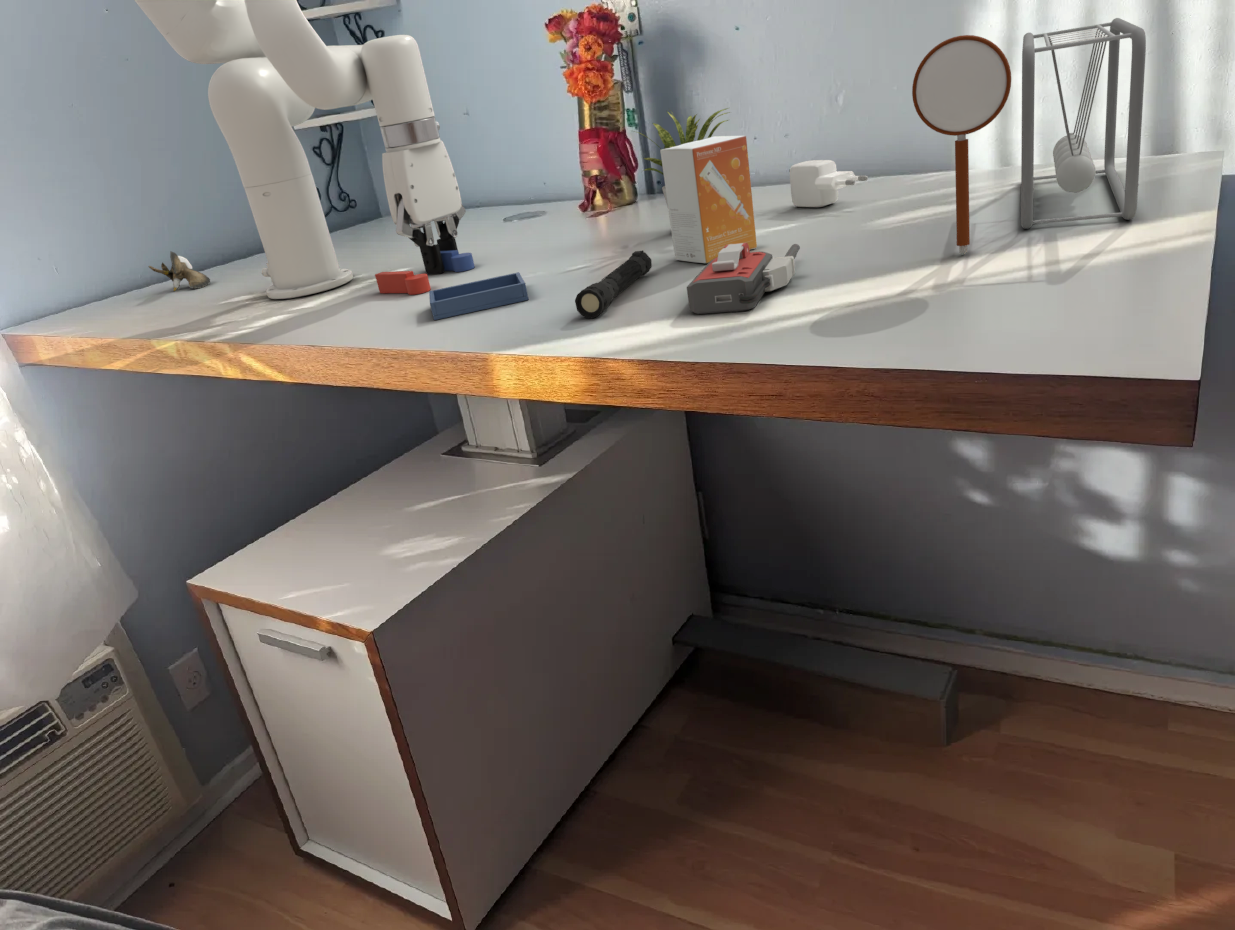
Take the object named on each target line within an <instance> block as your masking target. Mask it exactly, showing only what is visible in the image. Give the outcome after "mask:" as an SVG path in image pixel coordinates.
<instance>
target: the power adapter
mask: <svg viewBox="0 0 1235 930" xmlns="http://www.w3.org/2000/svg"><path fill="white" fill-rule="evenodd" d="M868 179H869V177H868V175H856V174H855V173H854V171H852V170H838V169H837V164H836V162H835V161H834V160H831V159H817V160H816V159H815V160H814V159H811V160H805V161H801V162H798V163H794V164H793V165H791V166H790V168H789V184H790V195H791V200H792V201H791V202H792V204H793V205H794V206H795V207H797V208H822V207H826V206H829V205H832V204H834V203H836V202H837V201H838V199H839V190H840V189H842V188H846V187H850V186H854V185H855V184H856V182H866V181H868Z"/></svg>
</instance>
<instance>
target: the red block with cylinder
mask: <svg viewBox="0 0 1235 930" xmlns="http://www.w3.org/2000/svg"><path fill="white" fill-rule="evenodd" d="M428 275H429V274H427V273H416V274H414V271H413V270H397V271H380V272H377V273H375V274H374V277H375V280H376V285H377V287H378V292H379V294H408V295H409V296H414V295H420V294H424V293H429V291H432V287H431V283H430V280H429V276H428Z"/></svg>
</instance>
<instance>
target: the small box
mask: <svg viewBox="0 0 1235 930" xmlns="http://www.w3.org/2000/svg"><path fill="white" fill-rule="evenodd" d="M661 149H662V150H661ZM661 149H660V151H659V152H660V157H661V158H660V160H662V166H663V167H662V166H661V167H662V172H663V174H664V175H663V179H664V186H665V188H666V195H667V203H668V207H667V209H668V217H669V224H670V230H671V231H670V232H671V239H672V245H673V252H674V260H677V261H680V262H689V263H697V264H708V263H709V262H710V261H711V260H713V259H715V258H717V257H718V254H719V252H720V251H721V250H722V249H723V248H724V247H725V245H730V244H739V243H748V245H749V250H750V251H751V250H755V249H757V248H758V245H757V243H758V242H757V233H756V232H757V231H756V224H755V212H754V201H753V194H752V193H753V191H752V181H751V173H750V172H751V171H750V162H749V161H750V160H749V151H748V141H747V135H720V136H719V135H716V136H715V135H714V136H711V137H710V138H708V137H707V138H704V139H703V140H698V141H697V140H694V141H693V142H689V143H685V144H681V143H680V144H679V145H676V146H675V147H670V148H666V149H664V148H661ZM667 203H666V204H667Z"/></svg>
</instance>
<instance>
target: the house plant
mask: <svg viewBox="0 0 1235 930" xmlns="http://www.w3.org/2000/svg"><path fill="white" fill-rule="evenodd" d="M728 109H729V107H727V108H723V109H720V110H717V111H715V112H714V113H712V114H711V115H710V116H709V117H708V118H707V119H706V120H705V122H704V123H703V125H702V127H701V128H700V130H699V133H698V136H697V139H696V141H698V140H703V139H705V137H706V135H707V132H708V130H709V127H710V126H711V124H712V123H713V121H714V120H716V119H717V118H719V117H721V116H723V115H727V114H730V113H731V111H729V112H724V113H721V112H723V111H726V110H728ZM668 110H669V111H670V112H671V113H670V112H669V111H667V114H668V115H669V116H670V117H671V118H672V120H673V122H674V123H675V126H676V129H677V133H678V137H679V141H680V142H679V143H680V145H681V144H685V143H689V142H694V141H695V138H696V131H697V129H698V127H699V126H698V125H699V124H698V123H699V121H700V119H701V118H698V120H697V121H695V120H696V117H697V114H695V115H693V116H692V115H689V116H688V118H687V119H686V129H685V133H684V130H683V127H682V125H681V124H680V122H679V120H678V119H677V118H676V116H675V115H674V113H673V112H672V110H671V109H670V108H669V107H668ZM720 113H721V114H720ZM718 114H719V115H718ZM728 121H729V119H726V120H722V121H719V122H718V123H716V125H714V127H713V128H712V129H711V131H710V132H709V134H708V136H707V138H710V137H713V135H714V133H715V131H716V130H717V129H718V127H720V125H722V124H723V123H725V122H728ZM652 125H653V126H654V128H656V131H657V133H658V136H659V138H660V141H661V143H663V145H664V147H663V148H662V147H660V146H659V145H658V144H657V143H656V142H655V141H654V140H652V139H651V138H650V137H648V136H646V135H645V134H643V133H641V132H638V131H633V130H632V132H633V133H634V132H635V133H638V134H640V135H641V136H643V137H646V138H647V139H649V140H650V141H651V142H652V143H653V144H654V145H656V146H657V147H658V148H659V149H660V150H662V149H666V148H670V147H675V146H677V145H676V142H675V140H674V138H673V137H672V135H671V133H670V132H669V131H668V130H666V129H665V128H663V127H662V126H661V125H660V124H658V123H654V122H652ZM642 159H644V160H646V161H650V162H651V163H653V164H655V165H658V166H660V167H662V168H663V166H662V159H661V158H660V159H659V158H655V157H644V158H642ZM643 171H653V172H657V173H659V174H661V175H662V176H664V174H663V171H661V170H659V169H657V168H654V167H647V168H645V169H643V170H642V172H643ZM661 190H662V193H663V196H664V200H665V203H666V206H667V208H668V203H667V195H666V188H665V185H663V186H662V187H661Z"/></svg>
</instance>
